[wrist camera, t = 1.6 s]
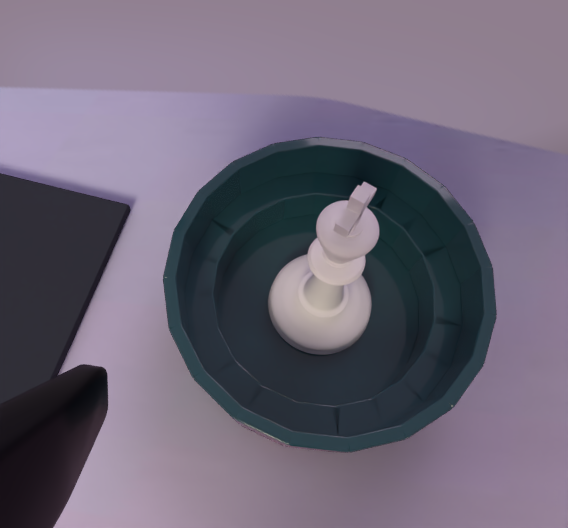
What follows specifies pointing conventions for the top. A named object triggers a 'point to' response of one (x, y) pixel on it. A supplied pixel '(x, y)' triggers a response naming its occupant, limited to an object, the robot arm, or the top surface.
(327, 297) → the chess piece
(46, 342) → the mat
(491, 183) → the top surface
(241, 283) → the bowl
